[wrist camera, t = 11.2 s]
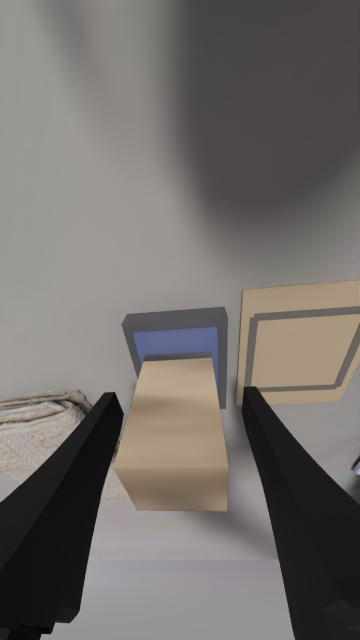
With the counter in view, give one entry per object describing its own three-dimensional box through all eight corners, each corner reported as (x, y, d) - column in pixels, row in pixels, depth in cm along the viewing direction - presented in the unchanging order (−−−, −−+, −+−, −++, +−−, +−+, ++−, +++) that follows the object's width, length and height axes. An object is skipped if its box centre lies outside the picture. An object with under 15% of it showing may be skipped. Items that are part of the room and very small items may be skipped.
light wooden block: (212, 395, 14) (226, 511, 9) (155, 397, 14) (137, 510, 9) (210, 351, 12) (228, 467, 7) (145, 354, 12) (113, 468, 7)
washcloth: (78, 377, 16) (57, 411, 14) (154, 475, 25) (150, 508, 22) (-33, 400, 18) (-71, 434, 16) (73, 484, 27) (60, 514, 24)
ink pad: (223, 395, 16) (226, 411, 15) (150, 398, 16) (147, 414, 15) (224, 306, 12) (228, 319, 11) (127, 314, 12) (120, 326, 11)
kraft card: (338, 399, 16) (340, 402, 15) (235, 403, 16) (236, 405, 16) (394, 277, 11) (398, 278, 10) (242, 289, 11) (243, 291, 11)
